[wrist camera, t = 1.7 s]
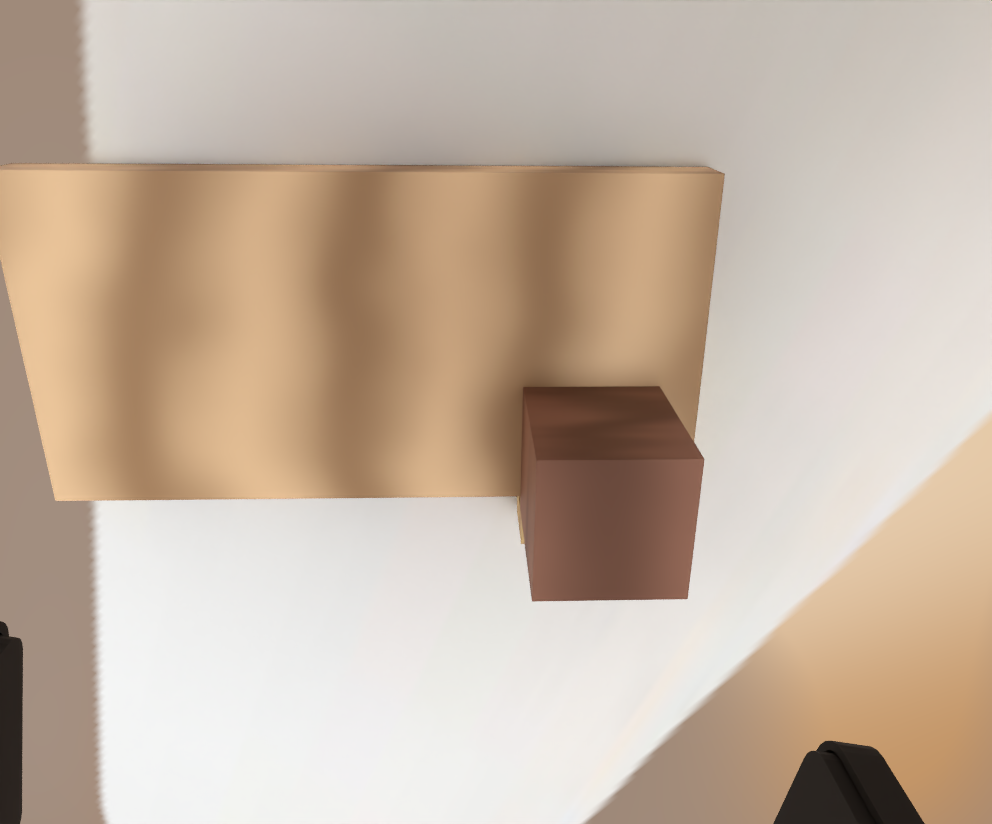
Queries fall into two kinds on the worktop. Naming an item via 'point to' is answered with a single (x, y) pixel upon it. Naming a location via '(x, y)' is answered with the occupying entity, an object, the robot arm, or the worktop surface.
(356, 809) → the worktop surface
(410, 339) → the pine board
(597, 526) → the brown block
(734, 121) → the worktop surface
